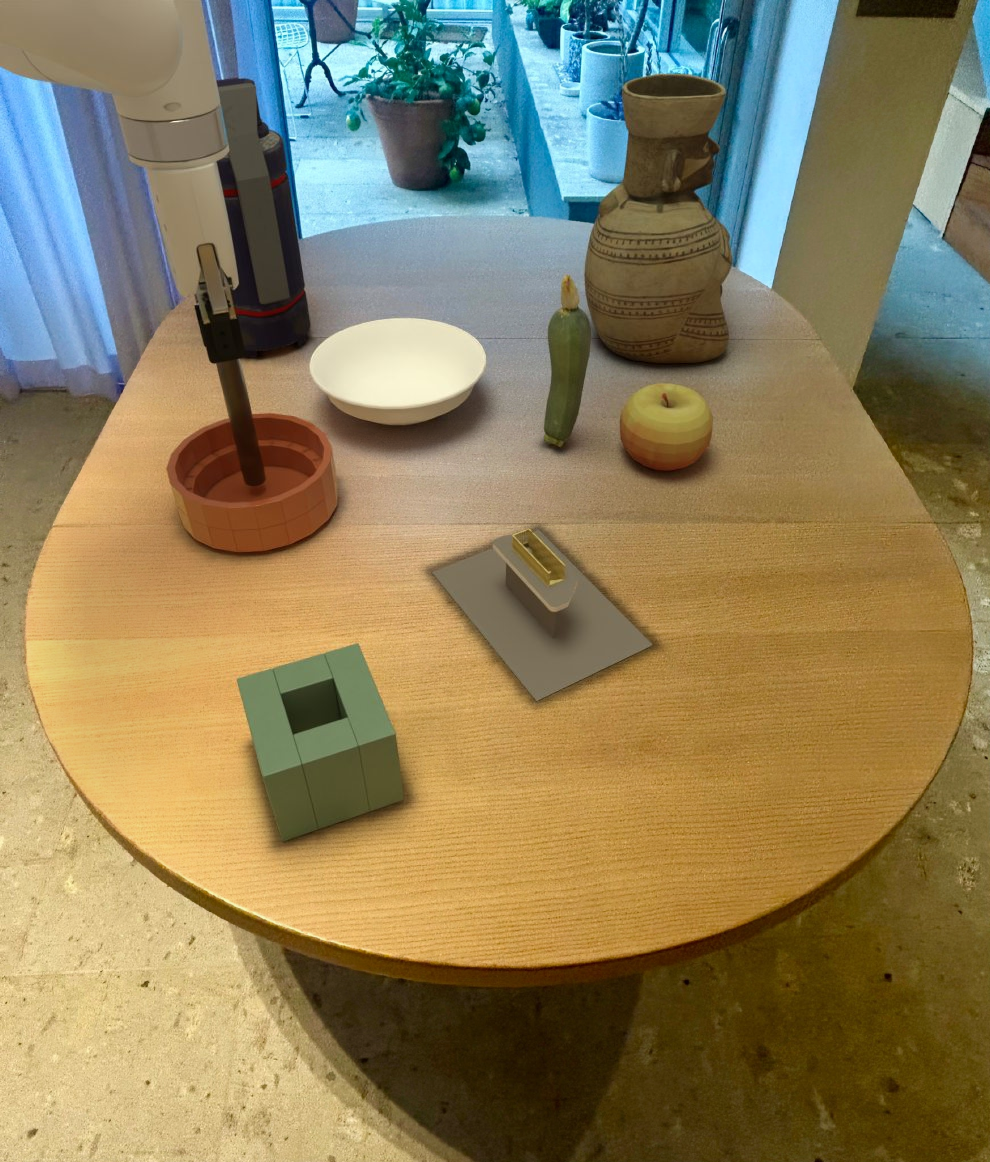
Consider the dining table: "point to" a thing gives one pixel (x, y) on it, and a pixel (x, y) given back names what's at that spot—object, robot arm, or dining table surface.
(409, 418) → the bowl
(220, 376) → the stick
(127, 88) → the robot arm
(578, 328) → the vegetable
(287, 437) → the mixing bowl
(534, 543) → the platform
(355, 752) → the stand
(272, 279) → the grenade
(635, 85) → the ceramic vessel
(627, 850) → the dining table surface
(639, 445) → the apple
